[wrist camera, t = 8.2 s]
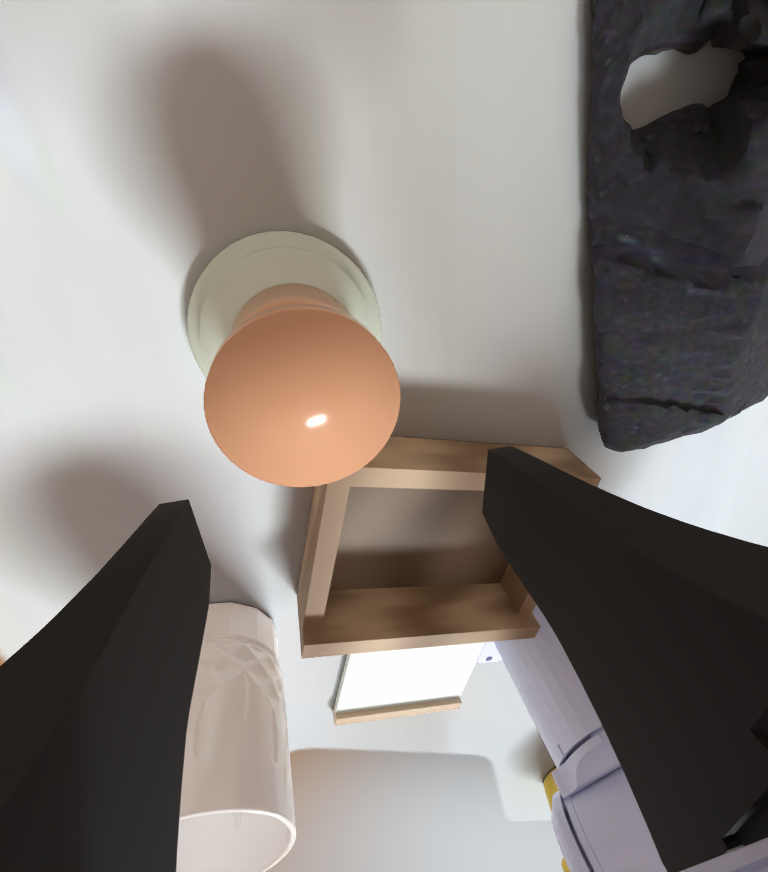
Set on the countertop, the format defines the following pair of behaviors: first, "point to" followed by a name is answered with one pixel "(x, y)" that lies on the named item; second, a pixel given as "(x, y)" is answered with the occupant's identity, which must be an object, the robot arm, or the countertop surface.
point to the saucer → (269, 266)
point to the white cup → (236, 750)
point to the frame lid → (403, 682)
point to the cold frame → (413, 553)
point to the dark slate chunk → (678, 228)
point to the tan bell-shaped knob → (300, 389)
